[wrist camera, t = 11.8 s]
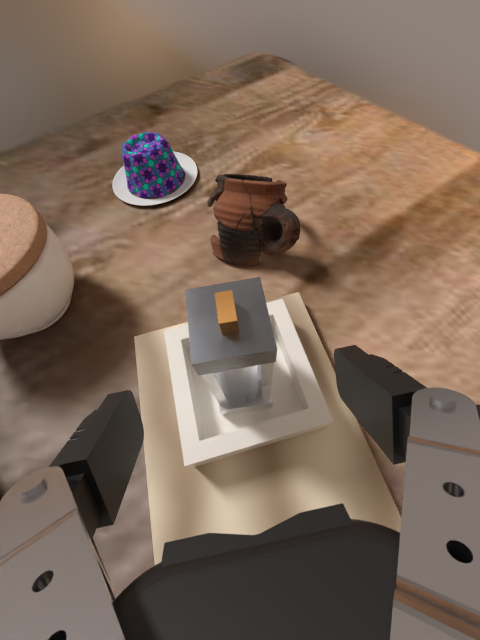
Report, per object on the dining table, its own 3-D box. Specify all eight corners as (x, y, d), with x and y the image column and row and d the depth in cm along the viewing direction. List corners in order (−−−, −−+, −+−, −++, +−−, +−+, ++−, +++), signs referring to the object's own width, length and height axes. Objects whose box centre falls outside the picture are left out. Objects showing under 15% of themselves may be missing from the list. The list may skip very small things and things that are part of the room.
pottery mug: (191, 249, 33) (190, 171, 29) (247, 239, 39) (253, 172, 35) (265, 286, 26) (279, 190, 22) (320, 266, 32) (340, 187, 28)
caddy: (194, 466, 20) (184, 466, 18) (174, 345, 25) (163, 330, 22) (324, 427, 21) (333, 420, 18) (280, 316, 26) (282, 298, 23)
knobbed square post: (222, 415, 21) (186, 365, 11) (215, 357, 23) (179, 271, 13) (272, 407, 21) (280, 348, 11) (260, 349, 23) (257, 257, 13)
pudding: (165, 146, 44) (154, 108, 39) (215, 178, 39) (209, 138, 34) (99, 184, 40) (78, 147, 36) (145, 223, 36) (128, 186, 31)
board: (198, 920, 13) (191, 973, 11) (140, 343, 27) (134, 336, 26) (515, 791, 14) (541, 825, 12) (296, 300, 28) (298, 292, 27)
